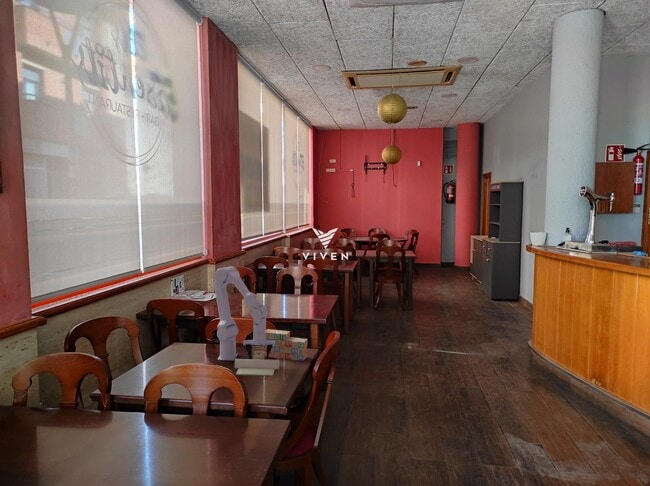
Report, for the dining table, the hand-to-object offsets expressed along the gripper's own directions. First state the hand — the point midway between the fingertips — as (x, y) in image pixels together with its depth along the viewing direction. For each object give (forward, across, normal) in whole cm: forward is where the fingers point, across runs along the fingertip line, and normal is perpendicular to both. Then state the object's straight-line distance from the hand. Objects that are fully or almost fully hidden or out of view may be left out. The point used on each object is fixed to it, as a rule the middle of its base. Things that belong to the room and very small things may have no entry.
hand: (258, 360), depth 207 cm
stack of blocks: (+2, +11, +11) cm, 16 cm away
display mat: (+1, 0, -12) cm, 12 cm away
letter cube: (+2, 0, 0) cm, 2 cm away
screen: (+1, 0, -6) cm, 7 cm away
